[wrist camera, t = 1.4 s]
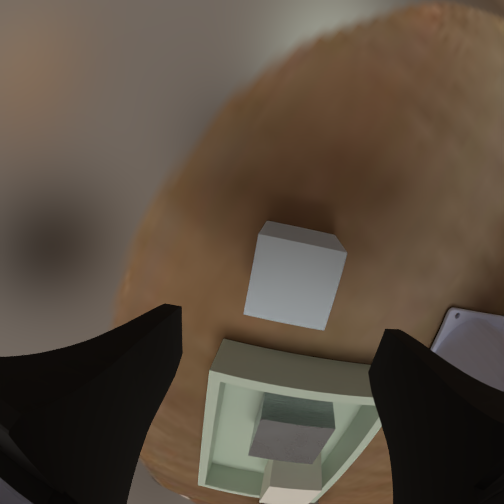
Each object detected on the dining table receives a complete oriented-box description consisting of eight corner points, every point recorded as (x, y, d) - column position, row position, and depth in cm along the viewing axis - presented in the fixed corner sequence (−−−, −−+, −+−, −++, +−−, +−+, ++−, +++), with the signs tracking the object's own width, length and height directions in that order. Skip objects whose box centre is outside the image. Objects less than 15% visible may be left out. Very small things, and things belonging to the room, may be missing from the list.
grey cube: (334, 234, 18) (347, 252, 13) (318, 297, 19) (324, 330, 15) (266, 220, 18) (258, 233, 14) (254, 284, 19) (243, 314, 15)
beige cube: (321, 452, 23) (321, 490, 18) (306, 473, 24) (305, 506, 19) (274, 447, 23) (269, 486, 18) (264, 468, 24) (258, 502, 20)
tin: (331, 393, 20) (335, 428, 16) (311, 431, 22) (311, 464, 18) (266, 383, 21) (260, 418, 17) (254, 422, 22) (247, 455, 18)
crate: (387, 366, 19) (400, 398, 16) (314, 477, 25) (314, 503, 21) (223, 338, 21) (209, 370, 17) (206, 460, 26) (197, 484, 22)
